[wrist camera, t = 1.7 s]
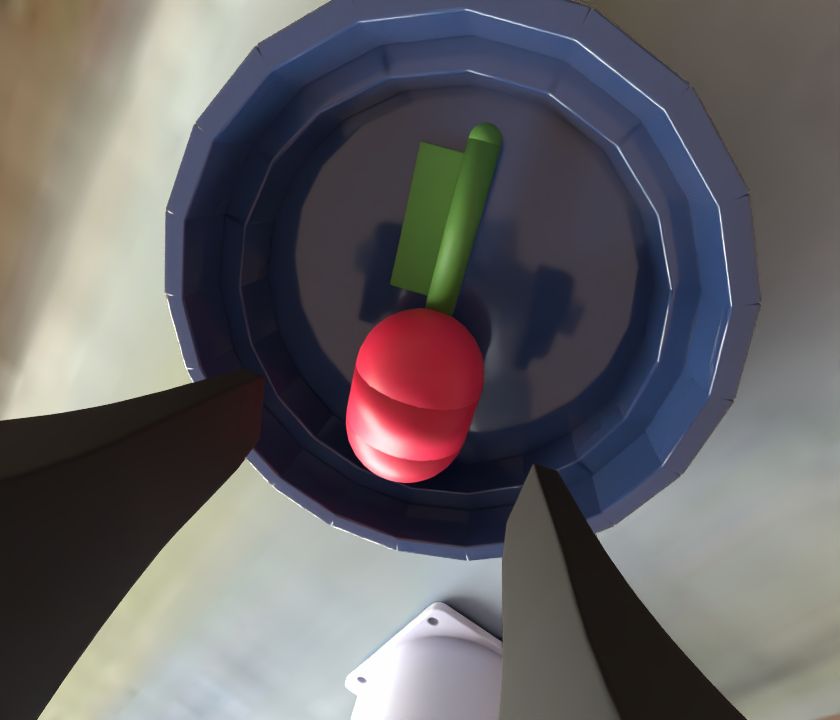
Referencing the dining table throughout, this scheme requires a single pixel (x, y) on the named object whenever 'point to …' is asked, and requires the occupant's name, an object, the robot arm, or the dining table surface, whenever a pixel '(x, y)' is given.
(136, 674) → the dining table surface
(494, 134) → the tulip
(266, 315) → the bowl
